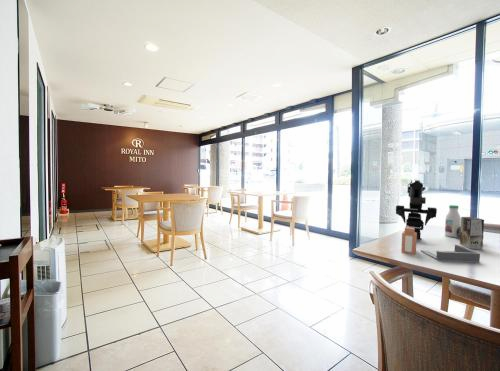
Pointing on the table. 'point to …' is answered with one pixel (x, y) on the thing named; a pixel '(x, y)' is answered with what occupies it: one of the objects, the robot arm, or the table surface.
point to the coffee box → (472, 232)
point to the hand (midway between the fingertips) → (415, 223)
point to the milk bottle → (452, 221)
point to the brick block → (409, 241)
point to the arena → (455, 255)
